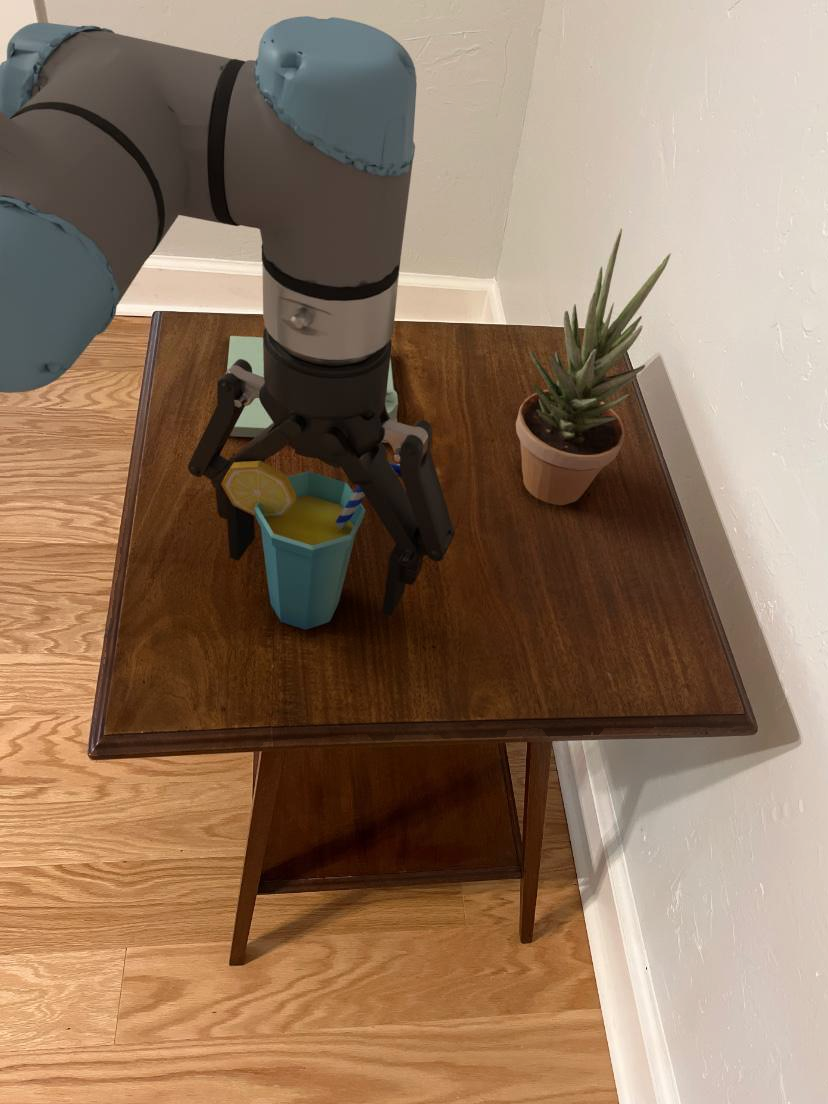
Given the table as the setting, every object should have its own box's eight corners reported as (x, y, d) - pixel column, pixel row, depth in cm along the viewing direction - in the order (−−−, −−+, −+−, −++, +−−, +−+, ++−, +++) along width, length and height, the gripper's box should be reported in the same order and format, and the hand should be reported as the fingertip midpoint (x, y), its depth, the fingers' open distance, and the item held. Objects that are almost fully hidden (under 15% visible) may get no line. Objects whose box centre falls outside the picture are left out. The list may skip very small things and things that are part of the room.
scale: (222, 436, 83) (221, 410, 81) (230, 345, 92) (229, 319, 89) (397, 443, 86) (400, 418, 83) (388, 354, 95) (391, 329, 92)
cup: (398, 566, 76) (423, 427, 64) (408, 641, 71) (436, 505, 60) (226, 565, 73) (220, 419, 62) (224, 643, 68) (217, 500, 57)
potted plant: (606, 461, 88) (693, 219, 70) (599, 528, 82) (693, 282, 64) (506, 438, 88) (566, 190, 70) (491, 502, 82) (553, 250, 64)
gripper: (107, 299, 52) (148, 555, 68) (504, 433, 49) (448, 665, 66) (175, 242, 57) (199, 493, 73) (540, 360, 54) (480, 593, 71)
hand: (317, 575), depth 69 cm, fingers open, 12 cm apart
